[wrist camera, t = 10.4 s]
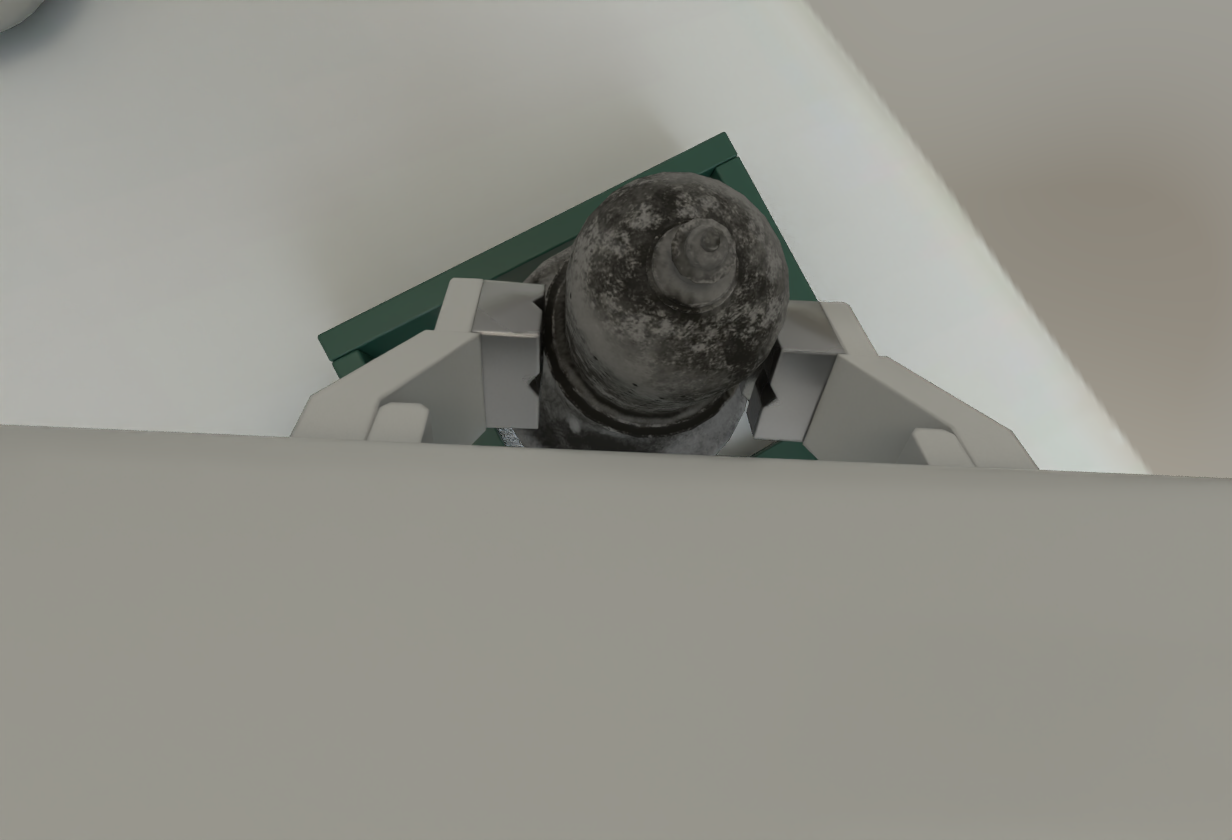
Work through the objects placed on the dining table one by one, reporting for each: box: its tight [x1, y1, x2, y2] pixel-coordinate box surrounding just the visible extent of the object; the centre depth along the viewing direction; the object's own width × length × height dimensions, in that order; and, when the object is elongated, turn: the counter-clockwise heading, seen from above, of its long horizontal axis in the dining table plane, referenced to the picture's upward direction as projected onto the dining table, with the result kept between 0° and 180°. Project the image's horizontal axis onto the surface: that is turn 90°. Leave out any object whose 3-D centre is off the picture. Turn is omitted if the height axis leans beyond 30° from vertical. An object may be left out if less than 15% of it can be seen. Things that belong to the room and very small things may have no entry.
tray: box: [318, 132, 818, 460], centre depth 19 cm, size 20×13×3 cm, turn 29°
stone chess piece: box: [512, 172, 790, 456], centre depth 12 cm, size 6×6×12 cm
